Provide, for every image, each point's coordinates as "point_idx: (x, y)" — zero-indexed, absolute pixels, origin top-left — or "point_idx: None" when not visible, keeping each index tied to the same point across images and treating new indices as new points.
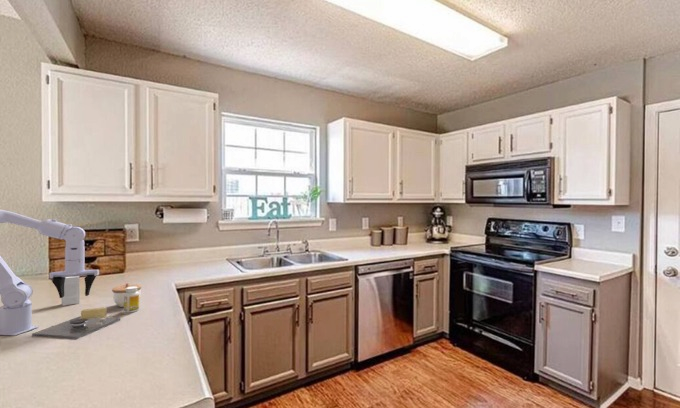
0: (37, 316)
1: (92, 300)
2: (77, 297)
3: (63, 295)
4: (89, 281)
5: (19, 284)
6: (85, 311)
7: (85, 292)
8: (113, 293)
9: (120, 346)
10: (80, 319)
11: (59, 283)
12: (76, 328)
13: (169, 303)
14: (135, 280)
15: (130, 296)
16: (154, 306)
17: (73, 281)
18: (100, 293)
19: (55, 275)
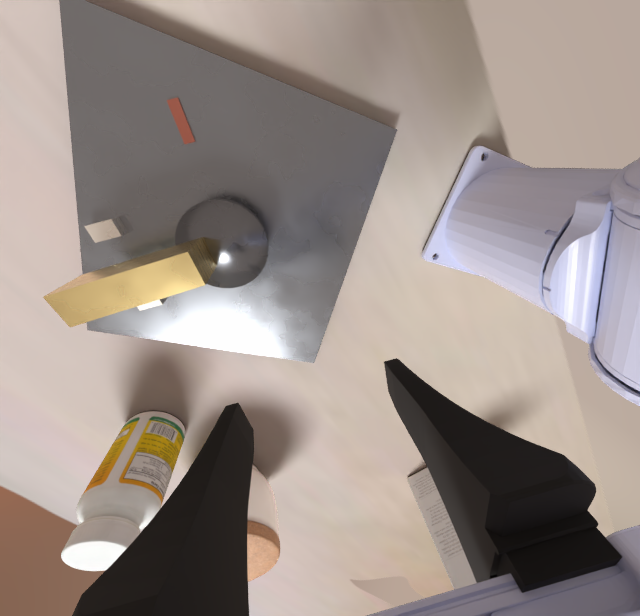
0: (479, 377)
1: (381, 498)
2: (420, 497)
3: (391, 390)
4: (135, 550)
5: None
6: (164, 257)
7: (228, 423)
8: (258, 515)
9: None
10: (210, 240)
11: (465, 456)
12: (204, 185)
13: (59, 498)
14: (354, 606)
15: (98, 487)
16: (95, 470)
17: (467, 569)
18: (390, 538)
19: (618, 602)
